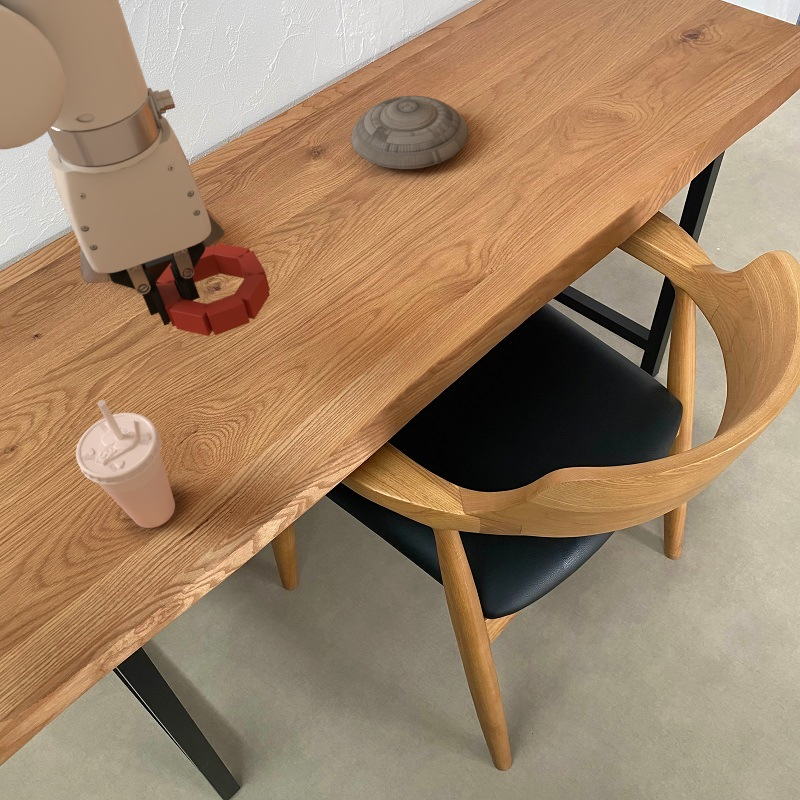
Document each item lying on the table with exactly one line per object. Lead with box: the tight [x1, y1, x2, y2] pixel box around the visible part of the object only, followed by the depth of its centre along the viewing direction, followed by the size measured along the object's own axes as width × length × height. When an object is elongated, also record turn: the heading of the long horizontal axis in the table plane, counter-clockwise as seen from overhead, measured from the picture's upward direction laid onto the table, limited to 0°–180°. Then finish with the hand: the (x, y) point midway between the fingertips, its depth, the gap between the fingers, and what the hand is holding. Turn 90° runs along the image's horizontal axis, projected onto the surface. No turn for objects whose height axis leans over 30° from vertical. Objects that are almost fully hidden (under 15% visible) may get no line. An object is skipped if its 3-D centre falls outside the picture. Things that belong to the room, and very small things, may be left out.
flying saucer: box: [350, 95, 469, 170], centre depth 100 cm, size 15×15×6 cm
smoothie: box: [75, 399, 176, 529], centre depth 64 cm, size 6×6×14 cm
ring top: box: [156, 242, 271, 337], centre depth 71 cm, size 9×9×2 cm
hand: (176, 309), depth 71 cm, fingers closed on ring top, 1 cm apart
